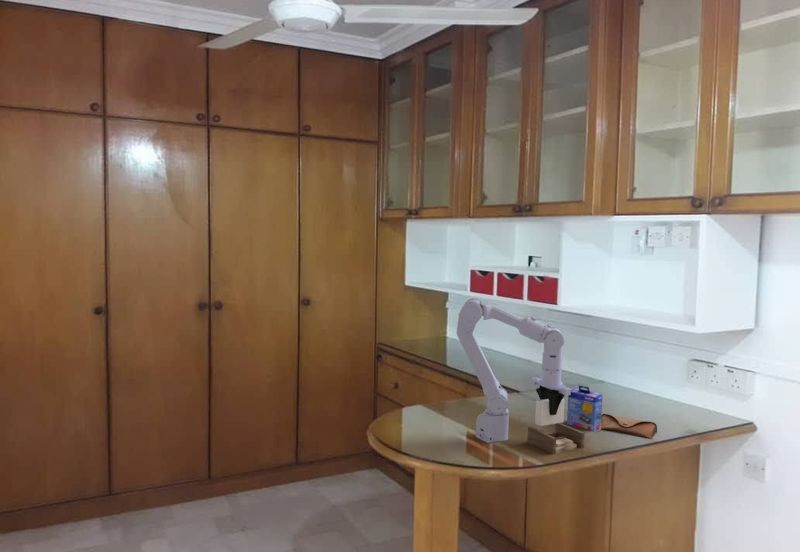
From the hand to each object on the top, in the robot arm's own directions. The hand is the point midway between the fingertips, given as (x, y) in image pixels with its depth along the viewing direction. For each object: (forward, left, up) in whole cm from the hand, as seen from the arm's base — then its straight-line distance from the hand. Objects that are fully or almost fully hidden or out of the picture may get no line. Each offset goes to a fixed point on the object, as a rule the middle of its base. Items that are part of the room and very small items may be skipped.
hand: (549, 413), depth 191 cm
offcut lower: (0, -6, -9) cm, 10 cm away
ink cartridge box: (+22, +7, -10) cm, 25 cm away
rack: (0, -3, -10) cm, 10 cm away
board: (0, 0, -3) cm, 3 cm away
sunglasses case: (+33, -1, -10) cm, 35 cm away
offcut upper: (0, -6, -8) cm, 10 cm away
